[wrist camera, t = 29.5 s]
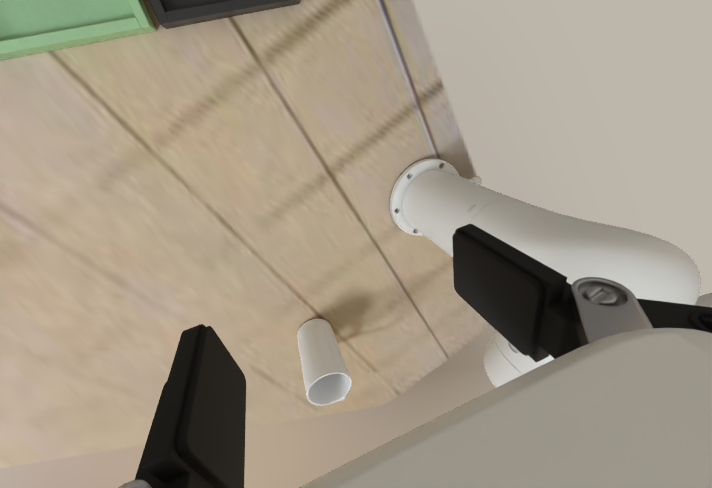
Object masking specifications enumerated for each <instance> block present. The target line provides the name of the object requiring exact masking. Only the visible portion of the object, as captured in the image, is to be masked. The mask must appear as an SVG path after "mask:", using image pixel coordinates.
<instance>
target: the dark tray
mask: <svg viewBox="0 0 712 488" xmlns="http://www.w3.org/2000/svg"><path fill="white" fill-rule="evenodd" d="M150 2H151V4H152V6H153V9H154V11H155V13H156V15H157V17H158V20H159V22H160V24H161V25H162V26H164V27H165V28H166V29H169V28H174V27H179V26H185V25H190V24H195V23H200V22H206V21H211V20H216V19H221V18H227V17H232V16H237V15H243V14H248V13H253V12H258V11H264V10H269V9H274V8H280V7H285V6H290V5H295V4H299V3H300V0H150Z"/></svg>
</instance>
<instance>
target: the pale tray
mask: <svg viewBox="0 0 712 488" xmlns="http://www.w3.org/2000/svg"><path fill="white" fill-rule="evenodd" d="M153 31H156V28H155V26H154V24H153V22H152V20H151V18H150V15H149V13H148V11H147V9H146V7H145V5H144V2H143V0H0V60H6V59H11V58H16V57H21V56H27V55H32V54H37V53H42V52H48V51H53V50H58V49H64V48H69V47H74V46H79V45H85V44H90V43H95V42H100V41H106V40H111V39H116V38H122V37H127V36H132V35H137V34H143V33H148V32H153Z"/></svg>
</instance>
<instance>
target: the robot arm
mask: <svg viewBox="0 0 712 488" xmlns="http://www.w3.org/2000/svg"><path fill="white" fill-rule="evenodd" d="M407 175H408V176H407ZM480 184H481V178H480V177H479V176H476V177H473V178H470V179H469V180H468V179H466V178H463V177H460V176H459V174H458V172H457V171H456V169H455V168H454V167H453V166H452V165H451V164H449V163H448V162H446V161H443V160H440V159H434V158H430V159H424V160H421V161H418V162H416V163H414V164H412V165H411V166H410V167H408V168H407V169H406V170H405V171H404V172H403V173H402V174H401V175H400V177H399V178H398V180H397V181H396V183H395V185H394V187H393V190H392V193H391V197H390V212H391V215H392V218H393V220H394V222H395V223H396V224H397V226H398V227H399V228H400V229H402V230H403V231H404V232H406V233H408V234H411V235H420V236H421V235H425V236H426V237H427V238H429V239H430V240H431V241H433V242H434V243H435V244H436V245H438V246H439V247H440V248H442V249H443V250H444V251H445V252H447V253H448V254H449V255H451V256H452V257H453V268H454V287H455V290H456V292H457V293H458V294H459V295H460V296H461V297H462V298H463V299H464V300H465V301H466V302H467V303H468V304H469V305H470V306H471V307H472V308H473V309H475V310H476V311H477V312H478V313H479V314H480V315H481V316H482V317H483V318H484V319H485V320H486V321H487V322H488V323H489V324H490V325H492V326H493V327H494V328H495V329H496V330H495V332H494V334H493V335H492V337H491V339H490V340H489V343H488V345H487V347H486V349H485V354H484V366H485V370H486V373H487V375H488V377H489V379H490V381H491V382H492V383H493V385H494V386H495V387H496V388H495V389H493V390H491V391H489V392H487V393H485V394H483V395H481V396H479V397H477V398H475V399H473V400H471V401H469V402H467V403H465V404H463V405H461V406H459V407H457V408H455V409H453V410H451V411H449V412H447V413H445V414H443V415H441V416H439V417H437V418H435V419H433V420H431V421H429V422H427V423H425V424H423V425H421V426H419V427H418V428H415V429H413V430H412V431H409V432H407V433H405V434H403V435H402V436H399V437H398V438H395V439H393V440H392V441H390V442H388V443H386V444H384V445H382V446H380V447H378V448H376V449H374V450H372V451H370V452H368V453H366V454H364V455H362V456H360V457H358V458H356V459H354V460H352V461H350V462H348V463H346V464H344V465H342V466H341V467H339V468H337V469H335V470H333V471H331V472H329V473H327V474H325V475H323V476H321V477H319V478H317V479H315V480H313V481H311V482H309V483H307V484H305V485H303V486H301V487H299V488H712V293H709V294H705V295H702V296H700V297H698V296H699V293H700V288H701V277H700V272H699V270H698V267H697V265H696V264H695V262H694V261H693V260H692V259H691V257H690V256H689V255H688V254H687V253H685V252H684V251H683V250H682V249H680V248H679V247H677V246H675V245H673V244H671V243H669V242H667V241H665V240H662V239H660V238H657V237H654V236H652V235H649V234H645V233H641V232H637V231H634V230H630V229H626V228H621V227H616V226H611V225H606V224H601V223H597V222H591V221H587V220H582V219H578V218H574V217H570V216H566V215H562V214H559V213H555V212H552V211H549V210H546V209H543V208H540V207H537V206H534V205H531V204H528V203H526V202H523V201H520V200H517V199H514V198H511V197H509V196H506V195H503V194H501V193H498V192H495V191H493V190H490V189H487V188H485V187H482V186H479V185H480ZM395 209H396V210H395ZM245 412H246V379H245V376H244V374H243V372H242V371H241V369H240V368H239V366H238V365H237V363H236V362H235V360H234V359H233V358H232V356H231V355H230V353H229V352H228V350H227V349H226V347H225V346H224V344H223V343H222V341H221V340H220V338H219V337H218V336H217V334H216V333H215V331H214V330H213V328H212V327H211V326H208V327H205V326H204V325H203V324H201V325H198V326H196V327H193V328H190V329H188V330H185V331H183V332H182V334H181V338H180V341H179V344H178V348H177V351H176V354H175V358H174V361H173V364H172V368H171V371H170V374H169V378H168V381H167V382H166V383H165V385H164V387H163V390H162V393H161V397H160V400H159V403H158V406H157V409H156V413H155V416H154V419H153V422H152V426H151V429H150V432H149V435H148V439H147V442H146V445H145V449H144V451H143V455H142V458H141V462H140V464H139V468H138V471H137V474H136V478H135V480H133V481H131V482H128V483H125V484H123V485H122V486H120V487H119V488H244V460H245V459H244V457H245Z"/></svg>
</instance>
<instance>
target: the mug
mask: <svg viewBox="0 0 712 488" xmlns="http://www.w3.org/2000/svg"><path fill="white" fill-rule="evenodd" d="M297 339H298V346H299V353H300V359H301V365H302V371H303V378H304V384H305V389H306V394H307V399H308V400H309V401H310V402H311V403H312V404H315V405H329V404H332V403H335V402H337V401H339V400H344V399H345V398H346V396H345V395H346V394H347V393H348V392H349V390H350V388H351V385H352V381H351V378H350V375H349V372H348V369H347V367H346V364H345V361H344V359H343V356H342V354H341V351H340V348H339V346H338V343H337V341H336V338H335V335H334V333H333V331H332V328H331V326H330V324H329V323H328V322H327V321H326V320H323V319H312V320H309V321H307V322H305V323H304V324H303V325H302V326H301V327H300V328H299V330H298V333H297Z"/></svg>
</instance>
